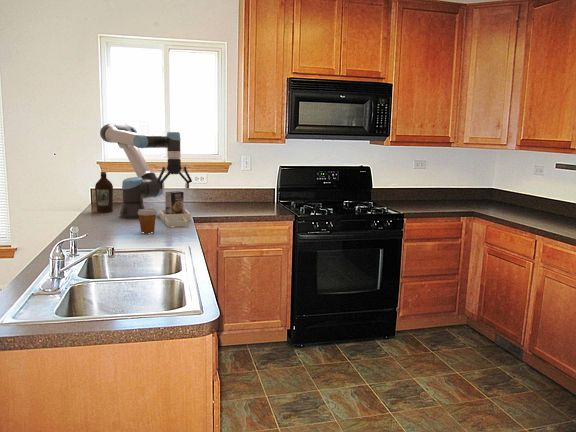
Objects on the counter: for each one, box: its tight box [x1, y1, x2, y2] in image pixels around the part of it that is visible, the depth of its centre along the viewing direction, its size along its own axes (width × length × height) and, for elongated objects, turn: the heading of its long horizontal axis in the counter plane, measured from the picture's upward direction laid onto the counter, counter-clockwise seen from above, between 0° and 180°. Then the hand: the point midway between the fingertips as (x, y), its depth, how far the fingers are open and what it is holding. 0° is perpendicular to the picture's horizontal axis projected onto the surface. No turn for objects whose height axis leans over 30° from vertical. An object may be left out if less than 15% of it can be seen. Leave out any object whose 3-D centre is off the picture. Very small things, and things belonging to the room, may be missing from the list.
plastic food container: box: [158, 208, 192, 222], centre depth 296 cm, size 16×17×4 cm
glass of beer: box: [138, 208, 158, 233], centre depth 254 cm, size 10×10×12 cm
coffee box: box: [164, 190, 185, 214], centre depth 295 cm, size 9×6×16 cm
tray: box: [164, 217, 189, 228], centre depth 278 cm, size 11×14×3 cm
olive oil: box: [94, 171, 114, 213], centre depth 312 cm, size 11×11×25 cm
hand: (174, 194), depth 294 cm, fingers open, 13 cm apart
